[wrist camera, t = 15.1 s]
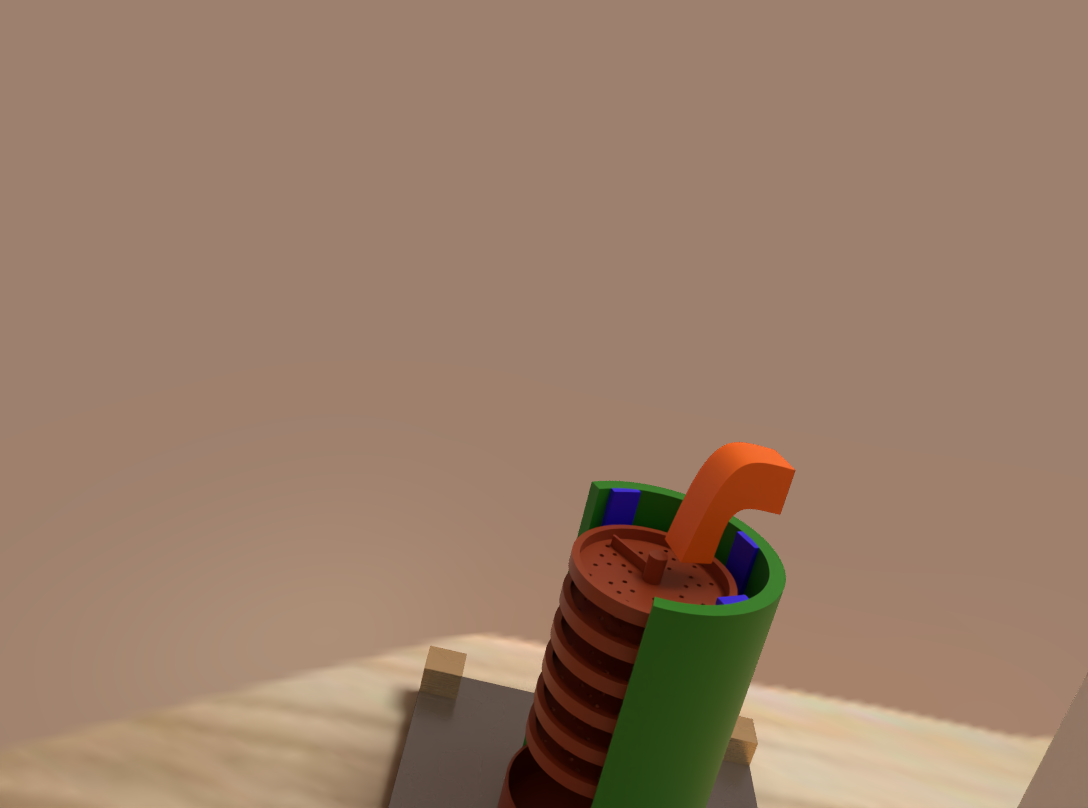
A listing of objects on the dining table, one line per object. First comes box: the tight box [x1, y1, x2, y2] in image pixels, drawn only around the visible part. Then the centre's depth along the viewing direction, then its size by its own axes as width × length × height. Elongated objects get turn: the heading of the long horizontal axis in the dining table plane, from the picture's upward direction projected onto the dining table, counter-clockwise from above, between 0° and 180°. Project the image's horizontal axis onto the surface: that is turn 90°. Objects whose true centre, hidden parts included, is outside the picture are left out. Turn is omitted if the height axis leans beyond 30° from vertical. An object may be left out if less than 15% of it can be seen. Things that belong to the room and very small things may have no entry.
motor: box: [497, 442, 795, 808], centre depth 44 cm, size 10×9×20 cm
